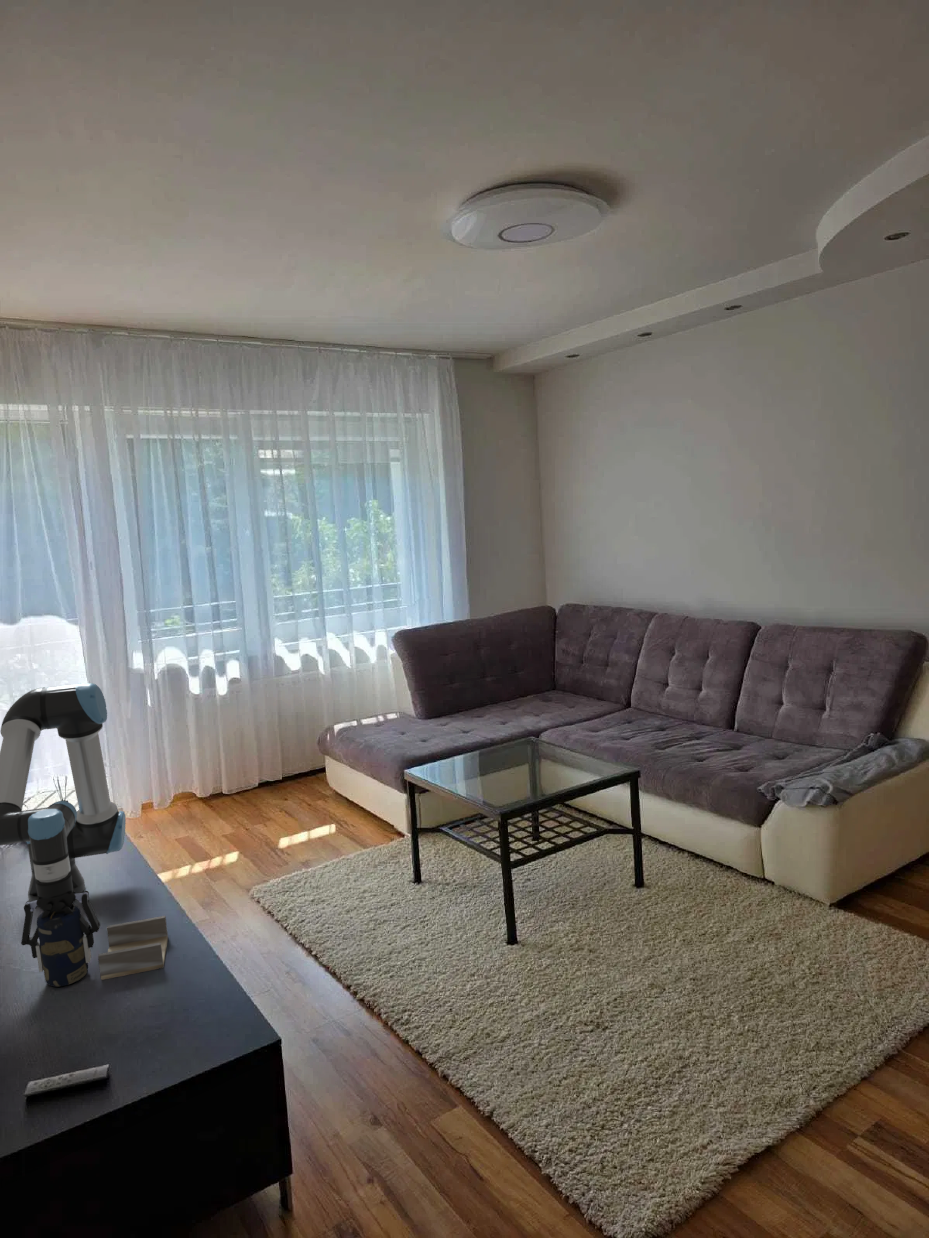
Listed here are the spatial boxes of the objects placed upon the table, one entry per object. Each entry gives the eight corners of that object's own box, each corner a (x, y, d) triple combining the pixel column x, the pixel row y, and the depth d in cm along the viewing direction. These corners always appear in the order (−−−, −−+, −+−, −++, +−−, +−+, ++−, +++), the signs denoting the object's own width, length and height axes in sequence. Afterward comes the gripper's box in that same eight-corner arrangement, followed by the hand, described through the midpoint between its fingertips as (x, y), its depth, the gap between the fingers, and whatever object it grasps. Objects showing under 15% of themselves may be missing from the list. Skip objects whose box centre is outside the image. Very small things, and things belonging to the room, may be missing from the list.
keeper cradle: (110, 947, 211) (107, 925, 210) (168, 937, 214) (165, 915, 213) (101, 979, 196) (97, 956, 195) (163, 967, 200) (160, 944, 199)
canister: (98, 970, 200) (88, 900, 198) (68, 992, 191) (57, 919, 189) (67, 965, 204) (57, 896, 201) (36, 986, 195) (25, 915, 192)
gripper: (-4, 891, 187) (10, 982, 191) (101, 874, 193) (113, 962, 196) (5, 877, 195) (18, 965, 198) (106, 861, 200) (117, 947, 203)
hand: (65, 964), depth 197 cm, fingers closed on canister, 9 cm apart
